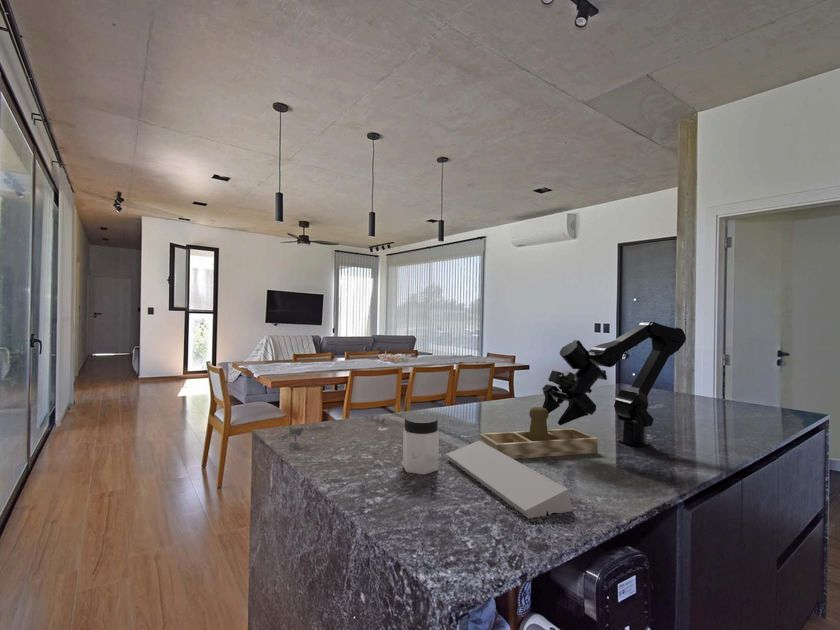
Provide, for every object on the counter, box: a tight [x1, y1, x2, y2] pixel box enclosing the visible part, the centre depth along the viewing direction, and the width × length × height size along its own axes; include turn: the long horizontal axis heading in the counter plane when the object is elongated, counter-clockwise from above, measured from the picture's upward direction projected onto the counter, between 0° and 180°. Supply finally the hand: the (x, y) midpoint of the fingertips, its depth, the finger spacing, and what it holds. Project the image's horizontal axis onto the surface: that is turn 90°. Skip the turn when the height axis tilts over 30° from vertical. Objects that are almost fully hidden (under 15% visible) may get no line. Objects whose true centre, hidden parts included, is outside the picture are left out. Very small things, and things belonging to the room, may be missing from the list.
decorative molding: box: [445, 440, 573, 520], centre depth 95 cm, size 34×5×10 cm
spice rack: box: [478, 428, 599, 460], centre depth 119 cm, size 31×11×4 cm, turn 106°
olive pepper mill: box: [528, 406, 549, 441], centre depth 119 cm, size 6×6×11 cm
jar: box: [402, 414, 440, 476], centre depth 102 cm, size 9×8×12 cm
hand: (549, 420), depth 120 cm, fingers open, 9 cm apart
